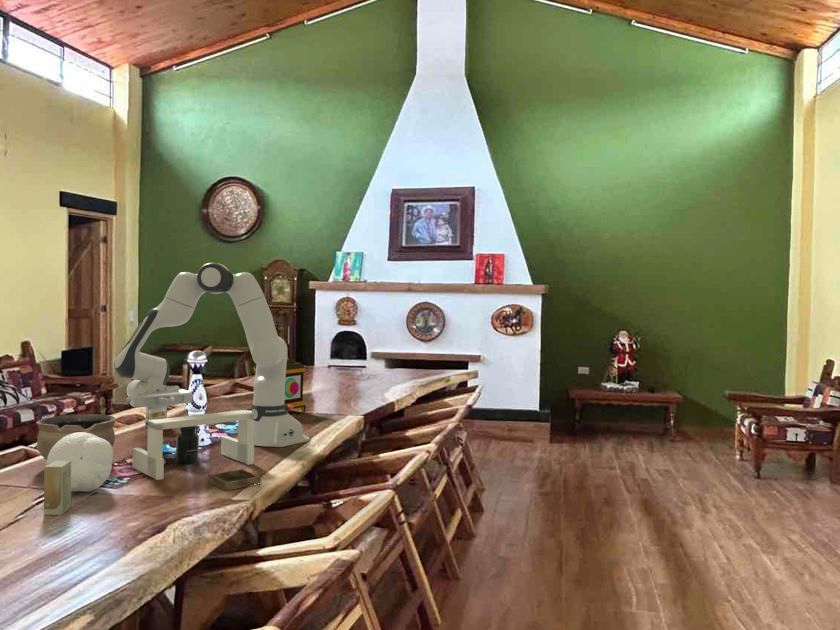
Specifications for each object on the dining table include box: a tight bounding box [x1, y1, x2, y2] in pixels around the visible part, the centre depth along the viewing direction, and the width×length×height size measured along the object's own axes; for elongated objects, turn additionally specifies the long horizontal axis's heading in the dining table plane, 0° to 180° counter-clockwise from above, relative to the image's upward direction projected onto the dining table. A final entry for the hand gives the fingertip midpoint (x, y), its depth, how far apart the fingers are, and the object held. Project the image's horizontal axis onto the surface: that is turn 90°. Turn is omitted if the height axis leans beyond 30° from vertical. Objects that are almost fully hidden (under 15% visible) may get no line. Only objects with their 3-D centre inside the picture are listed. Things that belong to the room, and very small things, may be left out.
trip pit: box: [207, 468, 262, 491], centre depth 210 cm, size 11×11×2 cm
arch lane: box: [132, 409, 255, 481], centre depth 228 cm, size 32×18×16 cm, turn 133°
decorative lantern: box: [250, 352, 307, 413], centre depth 324 cm, size 20×20×30 cm
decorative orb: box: [46, 432, 114, 493], centre depth 198 cm, size 20×18×16 cm
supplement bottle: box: [175, 425, 200, 466], centre depth 232 cm, size 7×7×12 cm
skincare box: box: [43, 461, 72, 516], centre depth 180 cm, size 6×4×12 cm
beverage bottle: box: [144, 406, 168, 428], centre depth 287 cm, size 8×8×20 cm
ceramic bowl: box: [35, 414, 117, 462], centre depth 223 cm, size 22×22×15 cm
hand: (170, 402), depth 240 cm, fingers closed
